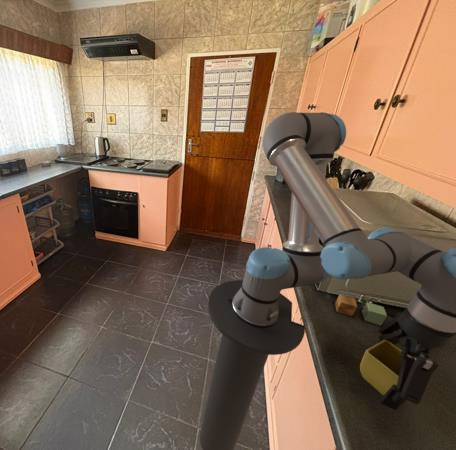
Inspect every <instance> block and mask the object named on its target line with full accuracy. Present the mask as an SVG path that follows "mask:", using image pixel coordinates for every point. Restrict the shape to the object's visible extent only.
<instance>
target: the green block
mask: <svg viewBox="0 0 456 450" xmlns="http://www.w3.org/2000/svg"><path fill="white" fill-rule="evenodd" d="M361 313H362V317H363V320H364V321H365V322H368V323H371V324H373V325H378V326H383V323H384V322H385V320H386V319H387V317H388V315H387V312H386V309H385V307H384V306H382V305H379V304H375V303H372V302H368V301H367V302H366V303H365V305H364V307H363V309H362V310H361Z"/></svg>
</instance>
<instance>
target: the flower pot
mask: <svg viewBox="0 0 456 450" xmlns="http://www.w3.org/2000/svg"><path fill="white" fill-rule="evenodd" d="M377 343H378V342H377ZM377 343H376V344H374V345H373V346H371V347H369V348H368V349H366V350H365V352H364V354H363V355H362V359H361V361H360V362H359V363H360V364H359V370H360V374H361V377H362V378H363V379H364V380H365V381H366V382H367V383H368V384H370V385H371V386H372V387H373V388H374V389H375V390H376V391H378V392H379V393H380V394H381V395H382V396H384V395H385V394H386V392H387V391H388V390H389V389H390V388H391V387H392V385H393V384H394V385H397V382H398V378H399V374H400V369H401V365H402V361H403V359H402V358H401V351H402V349H400V347H398V346H397V345H393V344H392V343H391V342H389V341H387V340H383V341H381V342H380V343H378V344H377ZM407 356H408V357H411V358H413V356H411V355H407Z"/></svg>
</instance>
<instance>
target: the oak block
mask: <svg viewBox="0 0 456 450" xmlns="http://www.w3.org/2000/svg"><path fill="white" fill-rule="evenodd" d="M334 306H335V310H336V312H337V313H339V314H343V315H345V316H349V317H353V315H354V314H355V312H356V310H357V308H358V305H357V301H356V298H354V297H351V296H348V295H344V294H341V293H339V295H338V297H337V298H336V300H335V302H334Z"/></svg>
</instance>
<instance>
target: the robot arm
mask: <svg viewBox="0 0 456 450" xmlns="http://www.w3.org/2000/svg"><path fill="white" fill-rule="evenodd" d="M346 138H347V127H346V124H345V121H344V120H343V119H342V118H340V117H339V116H338V115H337V114H334V113H328V112H297V111H291V112H285V113H282V114H280V115H279V116H277V117H275V118H274V119H273V120H272V121H270V123H268V125H267V127H266V129H265V130H264V133H263V137H262V148H263V152H264V153H263V154H264V155H265V157H266V159H267V161H268V163H269V164H270V165H271V166H273V167H276V168H277V169H278V171H279V173H280V175H281V176H282V178H283V180H284V182H285V184H287V186H288V188H289V189H290V191H291V197H290V211H289V225H288V237H287V240H286V241H284V242H283V243H282V250H281V249H280V248H277V247H274V248H272V247H271V246H264V247H259V248H255V249H254V250H253V251H252V252H250V255H249V256H248V260H247V262H246V265H245V272H244V275H243V283H242V287H241V288H240V290H239V291H238V292H237V294H236V295H235V296H234V298H229V299H228V300H229V301H233V302H232V308H233V311H234V313H235V314H236V315H237V317H238V318H239V319H241V320H242V321H243V322H245V323H247V324H249V325H251V326H255V327H260V328H266V327H271V326H273V325H274V324H275V323H276V322H277V319H278V317H279V308H278V297H279V294H280V293H281V291H283V290H288V289H293V288H299V287H306V286H307V287H309V286H314V285H316V284H319V283H323V282H324V281H325V280H326V279H328V278H329V276H331V277H332V278H335V279H338V280H352V279H353V280H357V279H364V278H367V277H371V276H376V275H383V274H390V273H396V272H398V273H400V274H401V275H403V276H405V277H406V278H409V279H410V280H412V281H413V282H416V283H418V284H420V285H421V286H420V288H419V289H418V291H417V292H416V293H415V295H414V296H413V298H412V299H411V300H410V301H409V303H408V304H407V306H406V307H405V309H404V310H403V312H397V315H396V316H395V317H394V318H393V319H391V320H389V322H387V323H386V324H384V325H382V326H380V328H379V329H378V333H379V334H380V335H379V337H378V339H379V340H378V342H376V344H378V343H380V342H381V341H383V340H387V341H389V342H391V343H392V344H393V345H395V346H397V344H400V346H401V350H402V351H401V358H402V359H403V361H402V365H401V369H400V374H399V378H398V382H397V385H394V384H393V385H392V387H391V388H390V389H389V390H388V391H387V392H386V394H385V395H382V397H381V398H380V400H379V404H380V405H383V406H385V407H387V408H389V409H392V410H395V411H396V410H397V409H398V408H399V407H400V406H401V405H403V404H404V403H405V402H406V401H408V402H410V403H413V404H415V405H419V404H420V403H421V400H422V397H423V396H424V394H425V391H426V389H427V386H428V383H430V382H429V381H430V379H431V378H432V375H433V374H434V372H435V371H436V370H437V369H438V367H439V365H438V362H437V361H435V360H432V359H431V357H430V355H431V351H432V350H433V349H435V348H441V347H442V348H443V347H445V346H446V345H447V344H448V343H449V342H450V341H451V340H452V339H453V338H454V336H455V335H456V247H451V248H448V249H447V251H444V250H441V249H439V248H436V247H435V246H432V245H430V244H428V243H426V242H423V241H421V240H419V239H417V238H415V237H413V236H411V235H408V234H407V233H405V232H403V231H400V230H396V229H394V228H391V227H384V226H383V227H380V228H378V229H377V230H374V231H372V232H370V233H369V235H368V236H367V235H366V234H365V232H364V231H363V230H362V229H361V227H360V225H359V224H358V223H357V221H356V220H355V219H354V216H352V214H351V212H350V211H349V209H347V207H346V205H345V204H344V203H343V202H342V200H341V199H340V197H339V196H338V194H337V192H335V190H334V189H333V187H332V186H331V184H330V183H329V181H328V180H327V178H326V175H327V165H329V164H330V163H332V161H334V158H335V157H334V156H335V152H337V151H338V150H340V149H341V146H343V145H344V143H345V141H346ZM320 241H321V243H322V244H323V245H322V244H321V243H320ZM407 355H409V356H410V357H408V356H407ZM411 357H412V358H411Z"/></svg>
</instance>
